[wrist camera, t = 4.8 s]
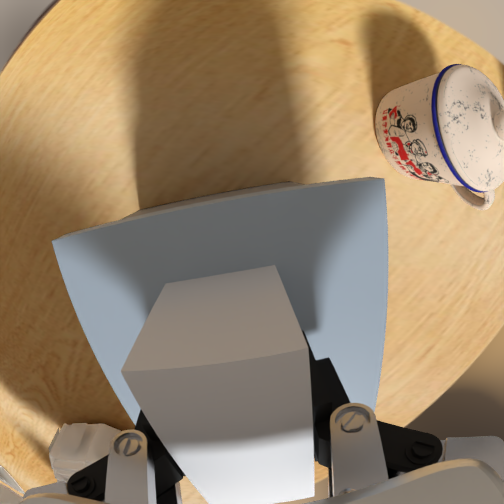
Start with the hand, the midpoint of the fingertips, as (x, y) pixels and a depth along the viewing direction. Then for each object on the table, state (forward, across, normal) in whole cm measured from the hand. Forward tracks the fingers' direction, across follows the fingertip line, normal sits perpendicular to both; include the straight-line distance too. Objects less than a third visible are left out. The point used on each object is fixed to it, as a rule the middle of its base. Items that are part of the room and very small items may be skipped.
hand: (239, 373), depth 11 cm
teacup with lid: (+14, -18, -8) cm, 24 cm away
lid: (+2, 0, 0) cm, 2 cm away
